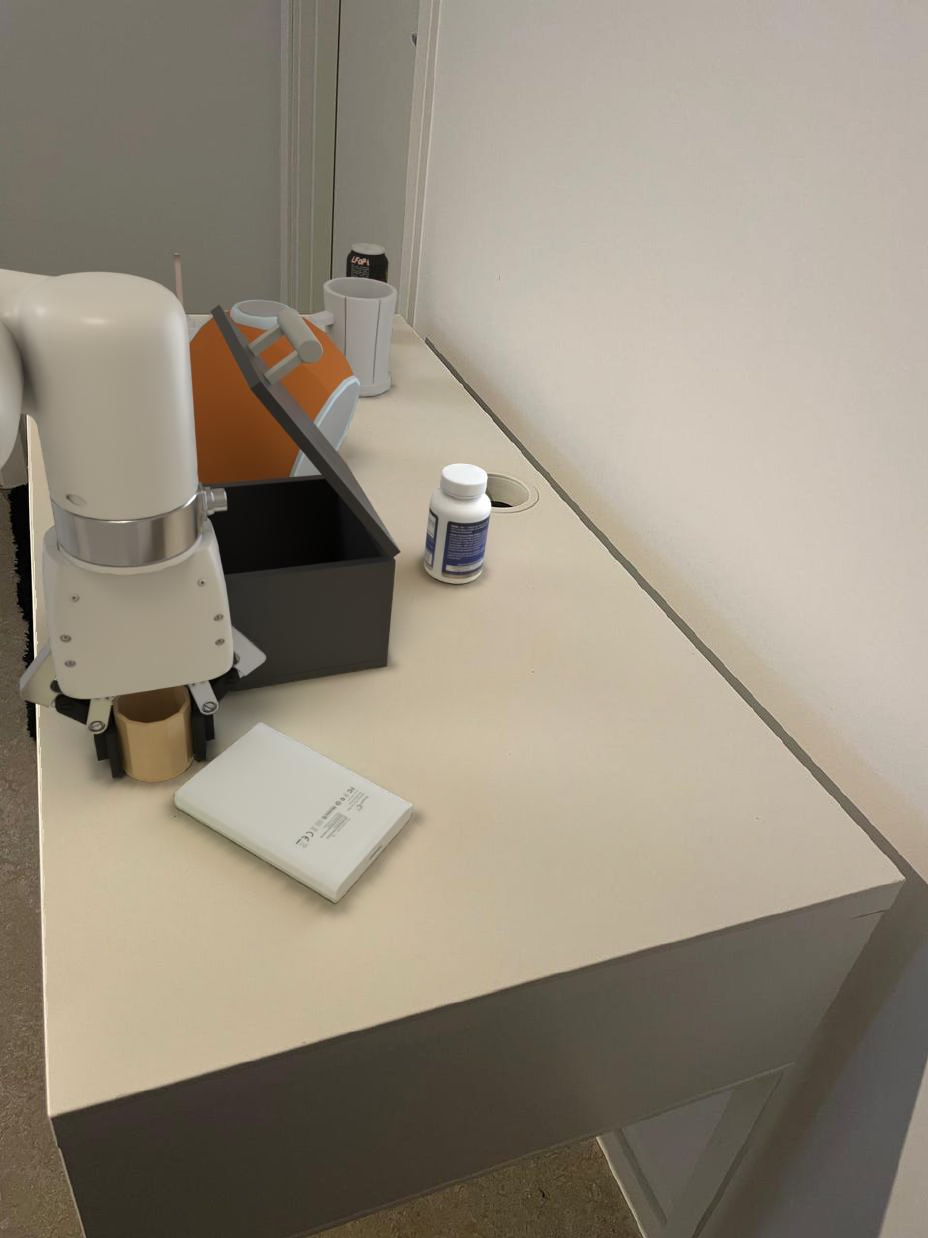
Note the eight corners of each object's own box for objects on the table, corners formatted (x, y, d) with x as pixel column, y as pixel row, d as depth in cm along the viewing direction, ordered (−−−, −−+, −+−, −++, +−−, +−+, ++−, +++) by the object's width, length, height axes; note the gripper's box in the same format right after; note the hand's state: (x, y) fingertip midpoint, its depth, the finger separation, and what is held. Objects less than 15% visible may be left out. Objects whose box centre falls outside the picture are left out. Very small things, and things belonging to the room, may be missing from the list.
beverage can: (373, 326, 133) (378, 240, 126) (390, 339, 129) (396, 252, 122) (337, 328, 130) (340, 241, 123) (353, 342, 126) (357, 253, 119)
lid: (249, 388, 53) (316, 338, 53) (209, 311, 63) (266, 268, 62) (392, 558, 64) (447, 518, 64) (339, 470, 74) (387, 434, 74)
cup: (370, 408, 109) (375, 309, 102) (301, 391, 111) (302, 292, 104) (401, 380, 117) (408, 286, 110) (337, 365, 119) (340, 271, 112)
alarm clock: (230, 424, 101) (223, 264, 91) (376, 459, 98) (386, 298, 88) (133, 498, 86) (112, 317, 76) (303, 542, 83) (305, 360, 73)
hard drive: (261, 737, 63) (411, 818, 58) (175, 810, 57) (334, 906, 52) (261, 719, 62) (413, 801, 57) (173, 792, 56) (335, 889, 51)
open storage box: (180, 700, 64) (169, 588, 59) (155, 593, 74) (144, 488, 69) (387, 666, 70) (396, 560, 64) (339, 571, 80) (343, 472, 74)
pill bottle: (492, 567, 83) (507, 473, 78) (461, 592, 80) (475, 495, 74) (444, 546, 85) (455, 452, 80) (411, 570, 82) (421, 473, 76)
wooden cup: (125, 788, 57) (116, 731, 55) (118, 739, 61) (109, 683, 58) (199, 774, 59) (194, 718, 56) (188, 727, 62) (183, 672, 60)
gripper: (269, 471, 55) (272, 696, 66) (-44, 496, 49) (16, 740, 59) (299, 535, 50) (297, 768, 60) (-49, 572, 43) (18, 825, 54)
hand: (157, 752), depth 60 cm, fingers closed on wooden cup, 4 cm apart
